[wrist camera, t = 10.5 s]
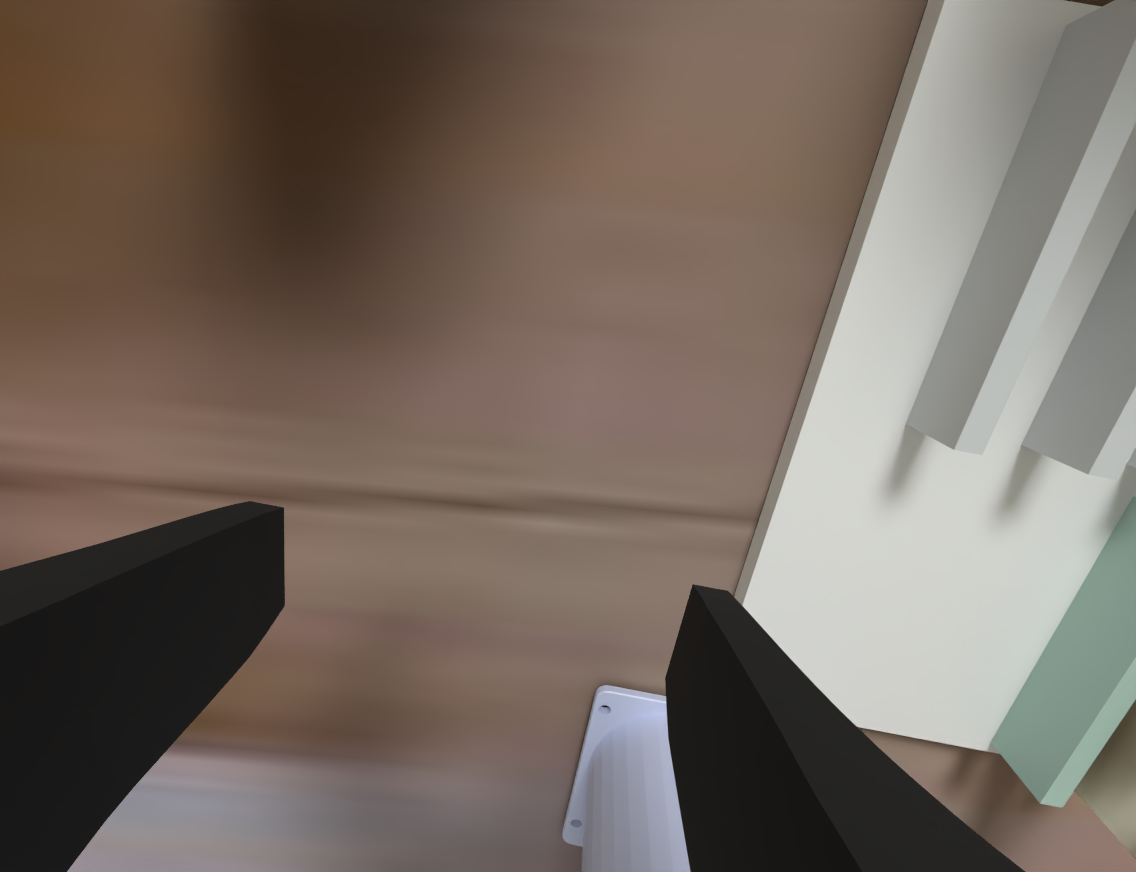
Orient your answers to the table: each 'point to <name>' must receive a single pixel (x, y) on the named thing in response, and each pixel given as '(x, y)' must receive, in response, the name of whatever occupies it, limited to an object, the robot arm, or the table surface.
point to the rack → (976, 406)
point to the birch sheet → (1115, 782)
